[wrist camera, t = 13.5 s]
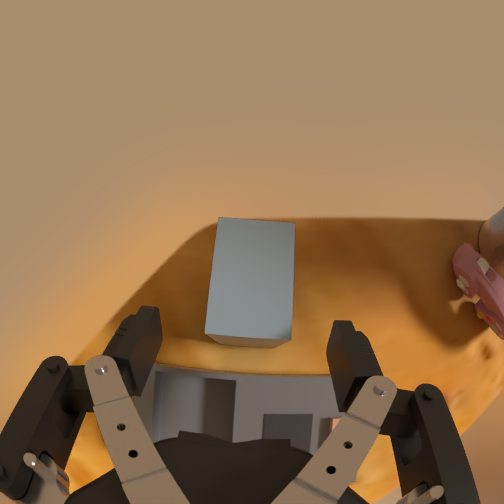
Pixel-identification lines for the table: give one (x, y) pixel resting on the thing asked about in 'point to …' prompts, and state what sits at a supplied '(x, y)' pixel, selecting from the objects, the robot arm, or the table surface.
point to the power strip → (238, 405)
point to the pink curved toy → (481, 286)
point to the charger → (251, 283)
